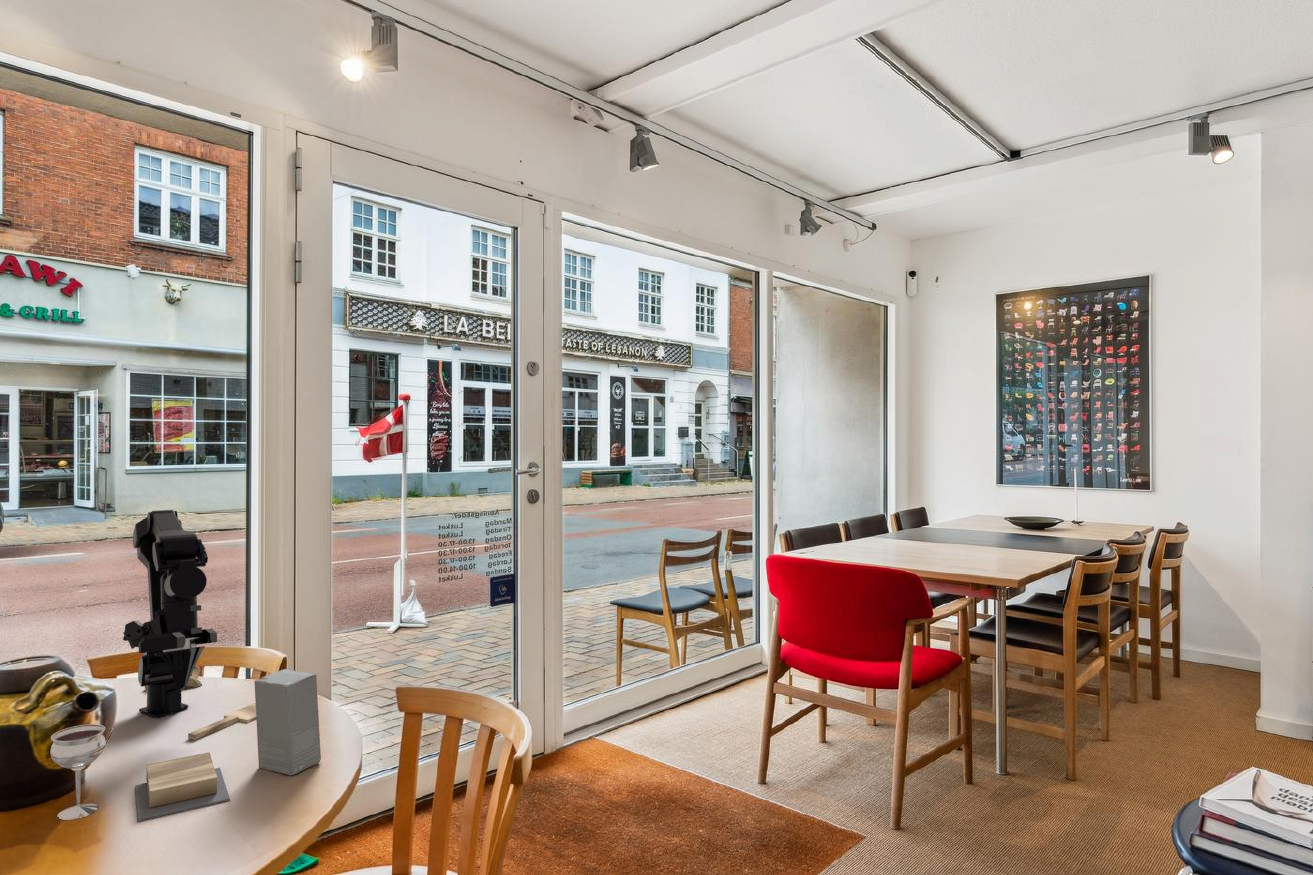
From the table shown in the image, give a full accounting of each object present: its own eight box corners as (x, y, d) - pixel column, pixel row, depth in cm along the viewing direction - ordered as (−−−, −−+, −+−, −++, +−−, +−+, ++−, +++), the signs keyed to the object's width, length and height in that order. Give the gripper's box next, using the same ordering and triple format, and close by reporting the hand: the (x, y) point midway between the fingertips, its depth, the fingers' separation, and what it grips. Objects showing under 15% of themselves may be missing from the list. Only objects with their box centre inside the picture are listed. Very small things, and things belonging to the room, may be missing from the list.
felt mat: (135, 786, 127) (135, 784, 127) (219, 769, 134) (219, 767, 134) (138, 821, 116) (138, 819, 116) (229, 800, 123) (229, 798, 123)
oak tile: (146, 764, 128) (149, 791, 119) (209, 752, 133) (217, 777, 125) (146, 780, 128) (149, 808, 119) (209, 767, 134) (217, 793, 125)
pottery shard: (201, 695, 173) (208, 670, 182) (199, 677, 172) (206, 653, 181) (144, 703, 169) (154, 678, 178) (141, 685, 168) (151, 660, 177)
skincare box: (321, 763, 137) (323, 673, 137) (287, 779, 131) (288, 685, 130) (287, 753, 141) (288, 665, 140) (251, 769, 134) (253, 677, 134)
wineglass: (44, 826, 114) (45, 745, 114) (55, 806, 120) (55, 728, 120) (101, 817, 117) (102, 737, 117) (108, 797, 123) (109, 721, 123)
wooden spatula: (203, 741, 144) (204, 736, 144) (178, 737, 146) (179, 731, 146) (278, 709, 162) (278, 704, 162) (255, 705, 163) (255, 700, 163)
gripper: (155, 607, 154) (157, 689, 151) (104, 609, 136) (105, 702, 133) (216, 599, 156) (219, 680, 153) (174, 600, 137) (177, 692, 135)
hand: (181, 688), depth 143 cm, fingers closed
